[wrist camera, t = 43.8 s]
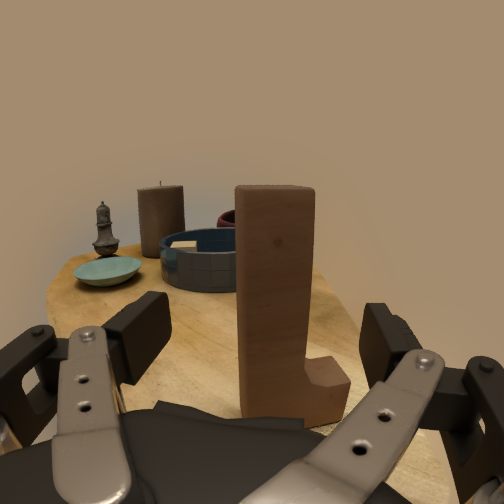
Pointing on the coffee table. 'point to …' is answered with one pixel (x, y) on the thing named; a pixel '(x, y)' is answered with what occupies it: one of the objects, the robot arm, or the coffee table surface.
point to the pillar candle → (159, 216)
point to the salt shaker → (105, 234)
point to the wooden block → (280, 309)
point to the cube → (185, 245)
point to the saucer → (108, 271)
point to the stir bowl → (201, 260)
